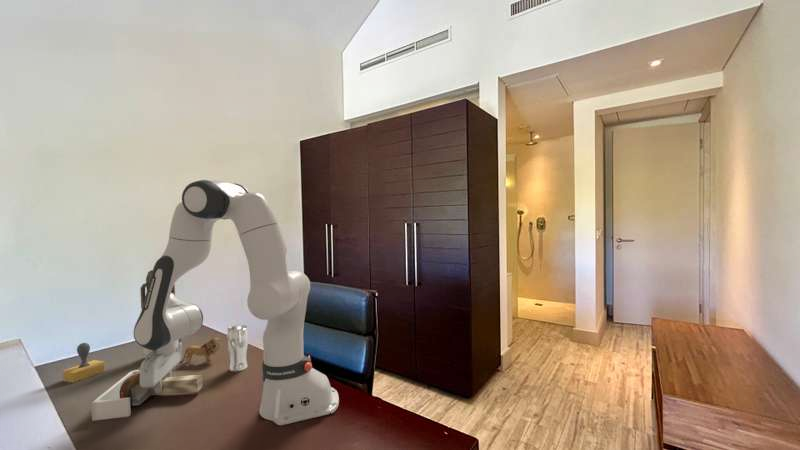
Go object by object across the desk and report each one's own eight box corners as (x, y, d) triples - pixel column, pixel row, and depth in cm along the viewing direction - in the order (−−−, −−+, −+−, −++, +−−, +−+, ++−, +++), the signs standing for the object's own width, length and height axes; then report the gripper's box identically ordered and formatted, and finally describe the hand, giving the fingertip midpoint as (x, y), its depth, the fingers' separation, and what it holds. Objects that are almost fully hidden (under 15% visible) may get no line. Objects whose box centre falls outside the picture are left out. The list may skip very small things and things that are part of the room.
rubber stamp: (73, 383, 121) (71, 348, 121) (62, 381, 123) (61, 347, 123) (105, 371, 131) (104, 339, 130) (95, 369, 133) (93, 337, 132)
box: (162, 382, 121) (161, 367, 121) (128, 416, 100) (128, 399, 100) (132, 385, 119) (131, 370, 119) (92, 420, 98) (91, 403, 98)
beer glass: (244, 362, 136) (243, 323, 135) (252, 367, 131) (250, 327, 130) (225, 368, 131) (223, 328, 130) (232, 374, 126) (230, 332, 125)
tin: (129, 411, 103) (127, 383, 102) (117, 412, 102) (116, 383, 102) (160, 386, 118) (159, 361, 117) (150, 387, 117) (149, 362, 117)
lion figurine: (222, 357, 141) (222, 335, 141) (219, 363, 136) (218, 339, 135) (181, 362, 137) (180, 339, 137) (176, 368, 132) (175, 344, 132)
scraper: (210, 378, 119) (209, 364, 119) (188, 401, 105) (187, 384, 105) (160, 382, 118) (159, 367, 118) (132, 405, 104) (130, 388, 104)
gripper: (156, 356, 101) (158, 404, 102) (184, 333, 121) (186, 373, 122) (131, 358, 100) (133, 407, 101) (164, 334, 120) (166, 375, 121)
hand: (162, 388), depth 111 cm, fingers closed on scraper, 3 cm apart
